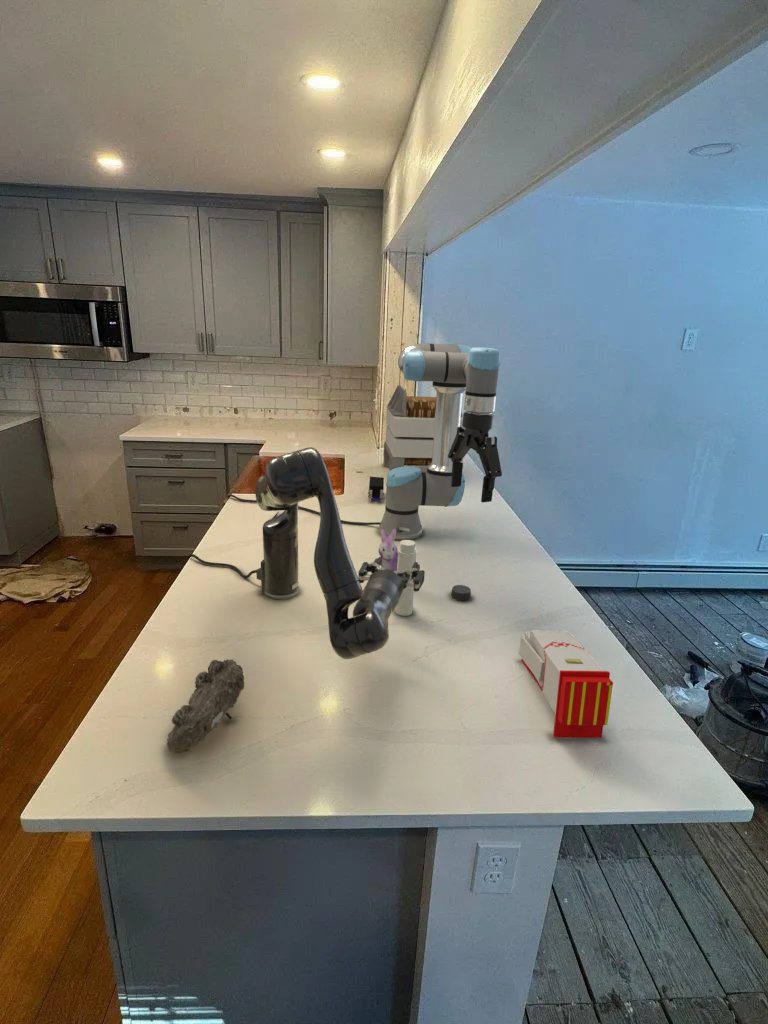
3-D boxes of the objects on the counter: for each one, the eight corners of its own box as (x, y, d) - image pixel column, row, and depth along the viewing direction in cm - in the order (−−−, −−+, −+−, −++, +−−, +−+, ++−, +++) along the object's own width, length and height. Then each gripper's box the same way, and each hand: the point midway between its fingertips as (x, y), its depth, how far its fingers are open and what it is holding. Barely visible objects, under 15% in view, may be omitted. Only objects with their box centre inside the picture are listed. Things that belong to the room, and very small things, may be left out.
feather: (286, 506, 225) (288, 502, 225) (268, 529, 199) (271, 525, 198) (282, 503, 225) (284, 499, 225) (264, 526, 199) (267, 522, 198)
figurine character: (384, 507, 230) (383, 491, 243) (385, 490, 226) (384, 475, 240) (367, 506, 230) (368, 491, 243) (368, 489, 226) (368, 474, 240)
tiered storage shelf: (382, 463, 289) (386, 382, 275) (445, 464, 293) (451, 384, 279) (390, 482, 257) (394, 392, 243) (460, 483, 261) (468, 394, 247)
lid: (459, 590, 161) (460, 583, 161) (474, 597, 158) (474, 589, 157) (447, 595, 158) (448, 588, 157) (461, 603, 154) (462, 595, 154)
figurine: (383, 587, 161) (385, 538, 155) (367, 573, 169) (369, 526, 164) (412, 582, 165) (415, 534, 160) (395, 567, 173) (397, 522, 168)
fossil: (192, 660, 117) (244, 628, 112) (224, 691, 120) (276, 661, 115) (142, 746, 98) (202, 712, 93) (182, 779, 101) (242, 748, 96)
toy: (565, 614, 131) (622, 678, 102) (559, 667, 134) (613, 744, 105) (513, 613, 131) (555, 677, 102) (509, 666, 134) (548, 744, 104)
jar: (406, 617, 146) (411, 547, 139) (391, 612, 148) (395, 543, 142) (415, 610, 150) (420, 542, 143) (400, 605, 152) (404, 537, 145)
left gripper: (416, 583, 115) (429, 552, 130) (349, 573, 118) (369, 544, 133) (413, 615, 118) (427, 581, 133) (348, 604, 121) (368, 573, 136)
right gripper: (439, 404, 149) (433, 481, 157) (497, 422, 129) (487, 510, 136) (462, 403, 153) (455, 479, 160) (523, 421, 132) (512, 506, 139)
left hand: (398, 563), depth 133 cm, fingers open, 8 cm apart
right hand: (470, 493), depth 148 cm, fingers open, 13 cm apart
